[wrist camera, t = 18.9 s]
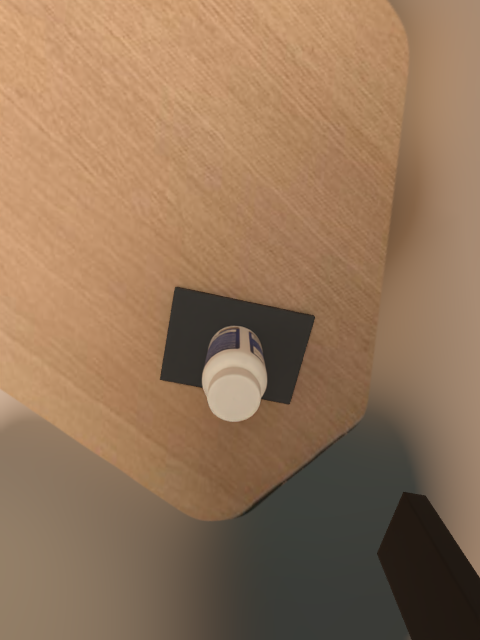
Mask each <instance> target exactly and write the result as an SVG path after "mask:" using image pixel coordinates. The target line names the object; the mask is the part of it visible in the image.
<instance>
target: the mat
mask: <svg viewBox="0 0 480 640" xmlns="http://www.w3.org/2000/svg"><path fill="white" fill-rule="evenodd" d="M314 319H315V317H314V315H309V314H304V313H299V312H295V311H290V310H285V309H280V308H276V307H271V306H266V305H261V304H257V303H252V302H247V301H242V300H237V299H233V298H228V297H223V296H218V295H214V294H209V293H204V292H199V291H195V290H190V289H185V288H180V287H175V291H174V297H173V303H172V309H171V315H170V321H169V327H168V334H167V340H166V346H165V352H164V358H163V364H162V371H161V377H160V380H165V381H170V382H175V383H180V384H186V385H191V386H196V387H201V388H203V386H202V374H203V370H204V366H205V361H206V357H207V352H208V348H209V345H210V342H211V340H212V338H213V336H214V335H215V334H216V333H217V332H218V331H220V330H221V329H223V328H225V327H229V326H241V327H244V328H247V329H249V330H251V331H252V332H253V333H254V334H255V335H256V336H257V337H258V339H259V341H260V343H261V346H262V351H263V356H264V362H265V367H266V372H267V386H266V390H265V392H264V394H263V396H262V397H261V399H264V400H269V401H274V402H280V403H285V404H290V401H291V398H292V394H293V391H294V388H295V384H296V381H297V377H298V374H299V371H300V367H301V364H302V360H303V357H304V353H305V350H306V347H307V343H308V340H309V336H310V333H311V329H312V326H313V323H314Z"/></svg>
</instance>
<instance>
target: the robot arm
mask: <svg viewBox="0 0 480 640" xmlns="http://www.w3.org/2000/svg"><path fill="white" fill-rule="evenodd" d="M377 555H378V557H379V560H380V562H381V565H382V567H383V569H384V572H385V575H386V577H387V579H388V582H389V584H390V587H391V589H392V592H393V595H394V597H395V600H396V602H397V604H398V607H399V609H400V612H401V614H402V617H403V619H404V622H405V624H406V627H407V629H408V632H409V634H410V637H411V639H412V640H480V578H479V576H478V575H477V573H476V572H475V570H474V568H473V567H472V565H471V564H470V562H469V561H468V559H467V558H466V556H465V555H464V553H463V552H462V550H461V549H460V547H459V546H458V544H457V543H456V541H455V540H454V538H453V537H452V535H451V534H450V532H449V530H448V529H447V528H446V526H445V524H444V523H443V521H442V520H441V518H440V517H439V515H438V514H437V512H436V511H435V509H434V508H433V506H432V505H431V503H430V502H429V500H428V499H427V497H426V496H424V495H418V494H413V493H407V492H403V494H402V497H401V499H400V501H399V504H398V506H397V508H396V510H395V513H394V515H393V517H392V520H391V522H390V524H389V527H388V529H387V531H386V534H385V536H384V538H383V541H382V543H381V545H380V548H379V550H378V553H377Z"/></svg>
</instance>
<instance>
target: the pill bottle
mask: <svg viewBox="0 0 480 640" xmlns="http://www.w3.org/2000/svg"><path fill="white" fill-rule="evenodd" d="M202 386H203V390H204V392H205V394H206V396H207V400H208V405H209V407H210V409H211V411H212V412H213V413H214V414H215V415H216V416H217V417H219V418H221V419H223V420H225V421H230V422H238V421H243V420H245V419H248V418H249V417H251V416H252V415H253V414H254V413H255V412H256V411H257V409H258V408H259V405H260V401H261V397H262V396H263V394H264V392H265V390H266V386H267V372H266V367H265V362H264V356H263V351H262V346H261V343H260V341H259V339H258V337H257V336H256V335H255V334H254V333H253V332H252V331H251V330H249V329H247V328H244V327H241V326H229V327H225V328H223V329H221V330H220V331H218V332H217V333H216V334H215V335H214V336H213V338H212V340H211V342H210V345H209V348H208V352H207V357H206V361H205V366H204V370H203V374H202Z"/></svg>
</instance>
